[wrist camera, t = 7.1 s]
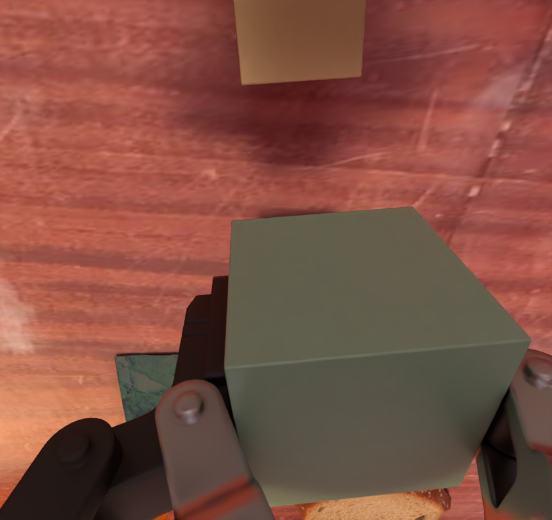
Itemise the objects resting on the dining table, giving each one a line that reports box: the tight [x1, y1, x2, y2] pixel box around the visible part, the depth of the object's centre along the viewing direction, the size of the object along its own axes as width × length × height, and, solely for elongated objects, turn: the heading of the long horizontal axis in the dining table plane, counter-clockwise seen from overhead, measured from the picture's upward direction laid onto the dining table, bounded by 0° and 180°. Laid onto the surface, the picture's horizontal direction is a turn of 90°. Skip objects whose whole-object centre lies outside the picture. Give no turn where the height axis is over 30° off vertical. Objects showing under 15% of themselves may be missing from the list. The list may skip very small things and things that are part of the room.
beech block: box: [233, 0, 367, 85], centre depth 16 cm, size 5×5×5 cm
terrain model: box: [115, 354, 178, 422], centre depth 32 cm, size 13×8×2 cm, turn 87°
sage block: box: [224, 207, 531, 507], centre depth 9 cm, size 5×5×5 cm
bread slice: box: [295, 488, 451, 520], centre depth 48 cm, size 18×18×4 cm
